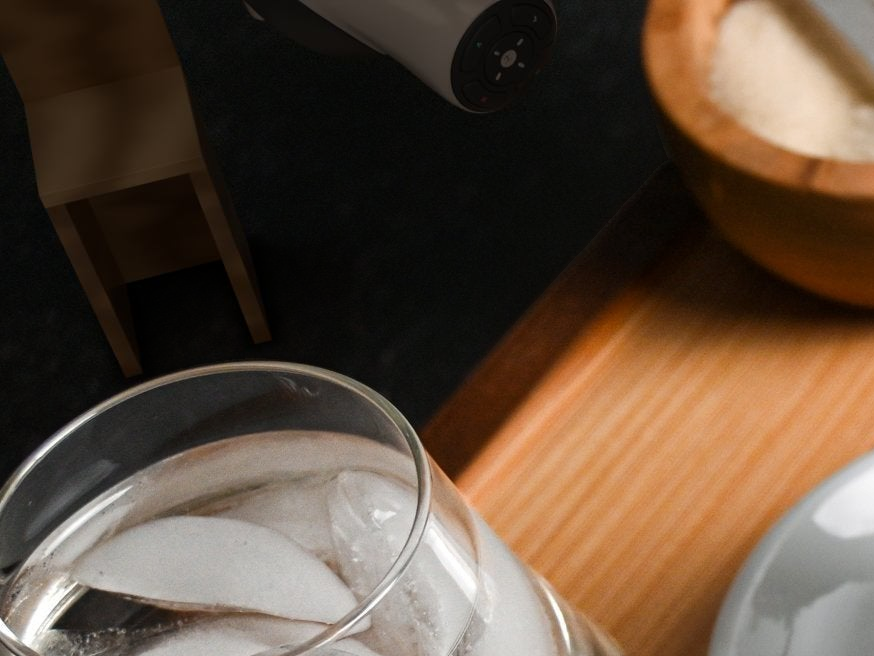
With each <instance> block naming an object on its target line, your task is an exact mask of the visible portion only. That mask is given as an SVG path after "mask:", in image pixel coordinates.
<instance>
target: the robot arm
mask: <svg viewBox="0 0 874 656" xmlns="http://www.w3.org/2000/svg"><path fill="white" fill-rule="evenodd" d="M242 2H243V4H244V6H245V8H246V10H247V11H248V13H249V14H250V16H251V17H252V18H254V19H256V20H258V21H265V22H266V23H267V24H269V26H271V27H273V28H274V29H275V30H277V31H278V32H280V34H282V35H284V36H285V37H287V38H288V39H290V40H292V41H294V42H295V43H297V44H299V45H300V46H303V47H304V48H306V49H309V50H311V51H313V52H315V53H318V54H320V55H323V56H327V57H330V58H334V59H338V60H378V59H383V58H386V57H387V55H388V56H389V57H391V58H392V59H394V60H395V61H396V62H398V63H399V64H400V65H402V66H403V67H404V68H405V69H407V70H408V71H409V72H411V74H413V75H414V76H415V77H416V78H417V79H419V80H420V81H421V82H422V83H423V84H424V85H426V86H427V87H428V88H430V89H431V90H432V91H434V92H435V93H436V94H438V95H439V96H440V97H442V98H443V99H444V100H446V101H447V102H448V103H450V104H451V105H453V106H455V107H457V108H459V109H461V110H463V111H465V112H468V113H472V114H487V113H488V114H489V113H493V112H497V111H498V110H501V109H504V108H506V107H508V106H510V105H512V104H513V103H514V102H516V101H517V100H519V99H520V98H522V96H523V95H524V94H525V93H526V92H527V91H528V90H529V89H530V88H531V87H532V85H533V84H534V83H535V81H536V80H537V79H538V78H539V76H540V74H541V73H542V71H543V70H544V68H545V66H546V64H547V63H548V61H549V59H550V57H551V56H552V53H553V51H554V48H555V45H556V41H557V34H558V20H557V13H556V10H555V7H554V4H553V1H552V0H242Z"/></svg>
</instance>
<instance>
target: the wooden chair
mask: <svg viewBox="0 0 874 656" xmlns="http://www.w3.org/2000/svg"><path fill="white" fill-rule="evenodd" d="M0 55H1V57H2V59H3V61H4V63H5V66H6V68H7V71H8V73H9V74H10V76H11V79H12V81H13V83H14V85H15V87H16V89H17V92H18V94H19V96H20V98H21V100H22V102H23V106H24V112H25V119H26V124H27V125H26V126H27V131H28V135H29V142H30V143H29V144H30V149H31V154H32V155H31V156H32V160H33V167H34V173H35V179H36V186H37V193H38V196H39V199H40V201H41V203H42V205H43V207H44V209H45V211H46V213H47V216H48V217H49V219H50V222H51V224H52V226H53V228H54V230H55V232H56V234H57V237H58V238H59V241H60V243H61V245H62V247H63V249H64V251H65V253H66V256H67V257H68V260H69V262H70V264H71V266H72V269H73V270H74V272H75V274H76V277H77V279H78V280H79V282H80V285H81V287H82V289H83V292H84V293H85V295H86V297H87V299H88V302H89V303H90V306H91V307H92V310H93V312H94V314H95V317H96V318H97V320H98V323H99V325H100V327H101V329H102V332H103V333H104V335H105V337H106V339H107V341H108V344H109V346H110V348H111V350H112V352H113V354H114V356H115V359H116V360H117V363H118V364H119V366H120V369H121V371H122V373H123V375H124V377H125V378H131V377H134V376H138V375H142V374H144V370H143V365H142V359H141V355H140V354H141V353H140V348H139V344H138V339H137V333H136V328H135V323H134V317H133V313H132V309H131V302H130V298H129V293H128V287H127V284H129V283H133V282H136V281H137V282H138V281H141V280H144V279H145V280H146V279H149V278H152V277H153V278H154V277H156V276H160V275H164V274H168V273H172V272H176V271H180V270H185V269H189V268H192V267H196V266H201V265H203V264H208V263H212V262H216V261H222V264H223V267H224V269H225V272H226V274H227V277H228V280H229V282H230V285H231V288H232V289H233V292H234V294H235V298H236V301H237V303H238V305H239V308H240V310H241V313H242V315H243V318H244V320H245V323H246V325H247V329H248V330H249V334H250V336H251V338H252V341H253V343H254V345H258V344H261V343H266V342H269V341H272V340H273V338H272V334H271V329H270V326H269V322H268V321H269V320H268V317H267V314H266V313H267V312H266V309H265V306H264V301H263V297H262V293H261V289H260V285H259V281H258V277H257V274H256V270H255V266H254V261H253V258H252V253H251V249H250V246H249V245H250V244H249V242H248V240H247V237H246V235H245V232H244V231H245V230H244V229H243V226H242V224H241V221H240V218H239V215H238V213H237V210H236V207H235V203H234V202H233V199H232V196H231V194H230V190H229V188H228V186H227V184H226V181H225V178H224V175H223V172H222V169H221V166H220V163H219V161H218V158H217V156H216V153H215V150H214V148H213V146H212V143H211V140H210V138H209V135H208V132H207V129H206V126H205V123H204V121H203V119H202V116H201V113H200V110H199V108H198V104H197V101H196V100H195V97H194V94H193V92H192V89H191V87H190V84H189V81H188V78H187V76H186V73H185V71H184V67H183V64H182V62H181V59H180V56H179V54H178V51H177V49H176V45H175V43H174V41H173V38H172V35H171V32H170V30H169V27H168V24H167V22H166V19H165V16H164V14H163V11H162V8H161V6H160V3H159V0H0Z"/></svg>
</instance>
